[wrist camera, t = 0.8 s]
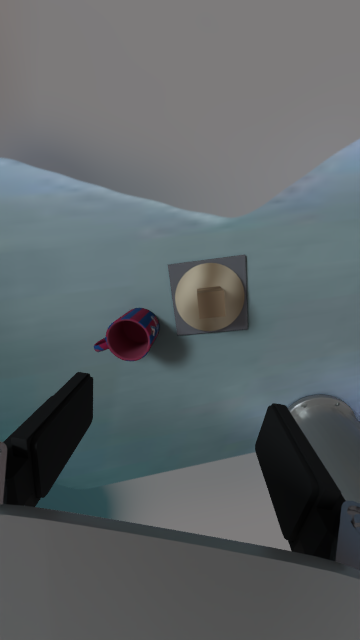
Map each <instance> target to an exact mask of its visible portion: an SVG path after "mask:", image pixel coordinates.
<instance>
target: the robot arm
mask: <svg viewBox="0 0 360 640" xmlns="http://www.w3.org/2000/svg"><path fill="white" fill-rule="evenodd" d="M92 419H93V377H90V374H88V373H82V372H78V373H76V374H75V375H74V376H73V377H72V378H71V379H70V380H69V381H68V382H67V383H66V384H65V385H64V386H63V387H62V388H61V389H60V390H59V391H58V392H57V393H56V394H55V395H54V396H51V397H50V398H49V399H48V400H47V401H46V402H45V403H44V404H43V405H42V406H40V407H39V408H38V409H37V410H36V411H35V412H34V413H33V414H32V415H31V416H30V417H29V418H28V419H27V420H26V421H25V422H24V423H23V424H22V425H21V426H20V427H19V428H18V429H17V430H16V431H14V432H13V433H12V434H11V435H10V436H9V437H8V438H7V439H6V440H5V441H4V442H0V640H360V422H358V421H357V420H356V418H355V415H354V413H353V411H352V409H351V408H350V407H349V406H348V405H347V404H346V403H345V402H343V401H342V400H340V399H338V398H336V397H333V396H330V395H312V396H307V397H304V398H302V399H300V400H298V401H296V402H295V403H293V404H292V405H291V406H290V407H289V408H287V407H286V406H285V405H281V404H272V405H271V406H269V407H268V409H267V412H266V415H265V418H264V421H263V424H262V427H261V430H260V432H259V435H258V438H257V441H256V445H255V451H256V454H257V457H258V460H259V464H260V466H261V470H262V473H263V476H264V479H265V482H266V485H267V488H268V491H269V494H270V497H271V500H272V503H273V506H274V509H275V512H276V515H277V518H278V522H279V524H280V528H281V531H282V534H283V536H284V538H285V539H286V540H288V542H289V544H290V547H291V550H292V552H291V551H287V550H281V549H276V548H272V547H266V546H260V545H255V544H250V543H244V542H238V541H233V540H227V539H221V538H216V537H211V536H205V535H199V534H194V533H188V532H182V531H176V530H171V529H165V528H160V527H153V526H148V525H142V524H136V523H130V522H125V521H119V520H113V519H107V518H101V517H95V516H89V515H83V514H77V513H71V512H65V511H58V510H51V509H44V508H37V507H35V506H36V504H37V503H38V501H39V500H40V498H41V497H42V498H44V497H45V496H46V495H47V494H48V492H49V490H50V489H51V487H52V485H53V484H54V482H55V481H56V479H57V478H58V476H59V474H60V473H61V471H62V470H63V468H64V466H65V465H66V463H67V462H68V460H69V458H70V457H71V455H72V454H73V452H74V450H75V449H76V447H77V445H78V444H79V442H80V441H81V439H82V437H83V436H84V434H85V433H86V431H87V429H88V428H89V426H90V424H91V422H92Z"/></svg>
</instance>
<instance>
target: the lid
mask: <svg viewBox="0 0 360 640" xmlns="http://www.w3.org/2000/svg"><path fill="white" fill-rule="evenodd" d="M244 296H245V295H244V288H243V285H242V282H241V280H240V279H239V277H238V276H237V274H236V273H235V272H234V271H232V270H231V269H230V268H228V267H226V266H224V265H221V264H217V263H204V264H200V265H197V266H195V267H193V268H192V269H190V270H189V271H188V272H186V273H185V274H184V276H183V277H182V278H181V280H180V281H179V283H178V285H177V288H176V293H175V303H176V307H177V310H178V312H179V314H180V316H181V317H182V319H183V320H184V321H185V322H186V323H187V324H189V325H190V326H192V327H193V328H196V329H198V330H202V331H215V330H219V329H222V328H225V327H226V326H228V325H230V324H231V323H232V322H233V321H234V320H235V319H236V318H237V317H238V315H239V314H240V312H241V310H242V308H243V304H244Z"/></svg>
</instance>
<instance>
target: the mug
mask: <svg viewBox="0 0 360 640" xmlns="http://www.w3.org/2000/svg"><path fill="white" fill-rule="evenodd" d="M158 333H159V322H158V320H157V318H156V316H155V315H154V314H153V313H152V312H151V311H149V310H147V309H144V308H135V309H132V310H130V311H129V312H127V313H126V314H124V315H123V316H122V317H120V318H119V319H117V320H116V321H114V322H113V323H112V324H111V325H110V326H109V328H108V330H107V332H106V337H105V338H103V339H102V340H100V341H98V342H97V343H96V344H95V345H94V349H95V351H97V352H100V351H104V350H106V349H110V351H111V352H112V353H113V354H114V355H115V356H116V357H118V358H120V359H122V360H125V361H136V360H139V359H141V358H143V357H144V356H145V355H146V354H147V353H148V351H149V350H150V348H151V346H152V344H153V342H154V341H155V339H156V337H157V335H158Z"/></svg>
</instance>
